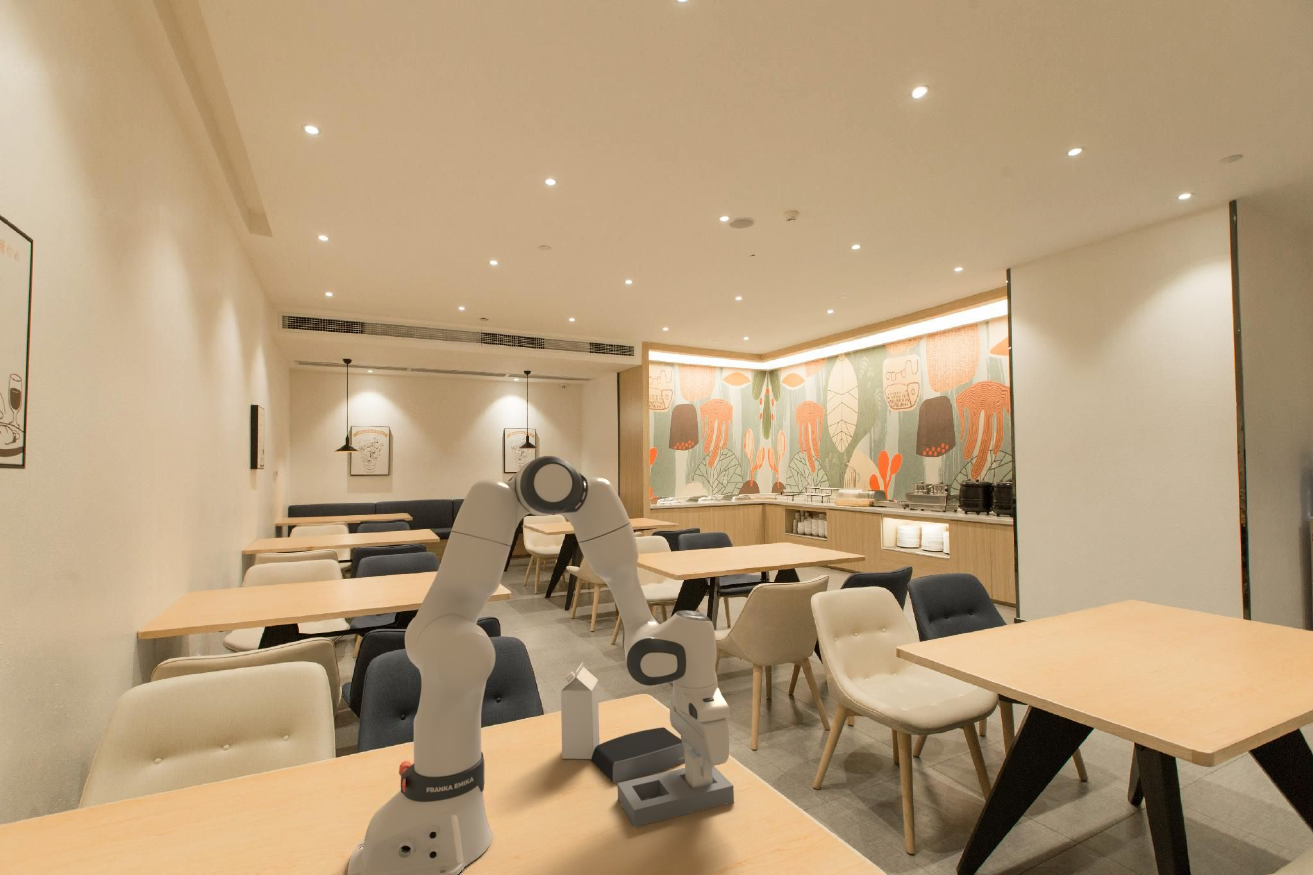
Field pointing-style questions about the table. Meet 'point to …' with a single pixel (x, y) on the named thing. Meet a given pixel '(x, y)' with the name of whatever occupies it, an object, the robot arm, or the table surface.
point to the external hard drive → (638, 754)
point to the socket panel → (670, 796)
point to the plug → (694, 769)
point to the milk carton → (579, 715)
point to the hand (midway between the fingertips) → (697, 767)
